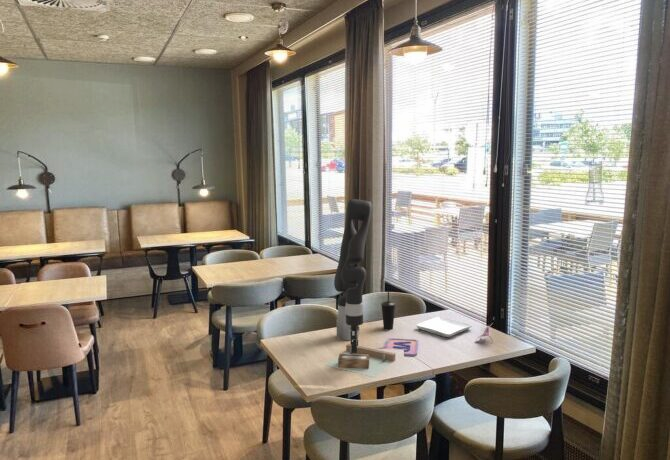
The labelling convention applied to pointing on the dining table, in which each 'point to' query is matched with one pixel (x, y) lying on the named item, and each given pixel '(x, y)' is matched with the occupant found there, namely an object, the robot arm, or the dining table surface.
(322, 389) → the dining table surface
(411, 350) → the icon
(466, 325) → the salad plate
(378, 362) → the wall panel
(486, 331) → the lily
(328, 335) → the dining table surface
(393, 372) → the dining table surface
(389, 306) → the drinking cup
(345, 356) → the frame
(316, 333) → the dining table surface
